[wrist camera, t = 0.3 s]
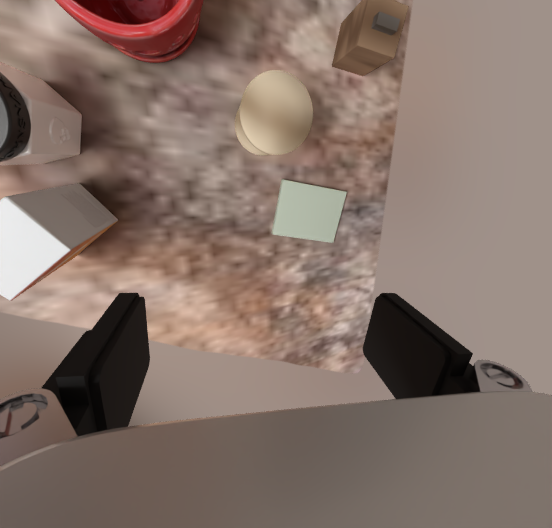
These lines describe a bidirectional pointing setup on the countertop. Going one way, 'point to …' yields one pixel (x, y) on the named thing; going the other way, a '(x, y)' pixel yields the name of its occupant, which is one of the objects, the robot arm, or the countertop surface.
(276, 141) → the cream drawer knob
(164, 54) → the plant pot
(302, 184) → the board
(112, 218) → the small box
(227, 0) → the countertop surface
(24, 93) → the jar
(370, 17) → the block
